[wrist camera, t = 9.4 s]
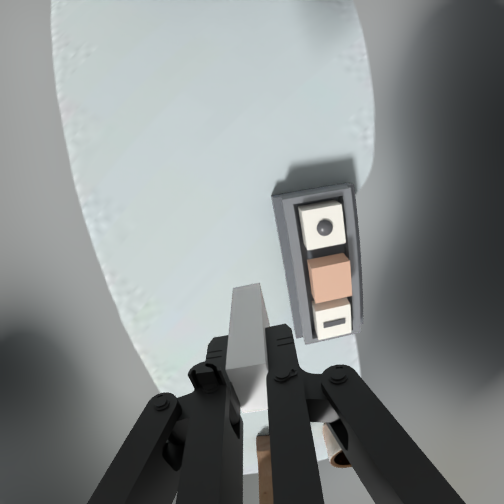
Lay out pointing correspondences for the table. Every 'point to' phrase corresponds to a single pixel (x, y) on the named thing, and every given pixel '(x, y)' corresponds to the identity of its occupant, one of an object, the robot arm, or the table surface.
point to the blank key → (330, 277)
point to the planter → (334, 450)
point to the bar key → (332, 318)
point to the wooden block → (264, 469)
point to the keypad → (317, 254)
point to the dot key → (322, 224)
